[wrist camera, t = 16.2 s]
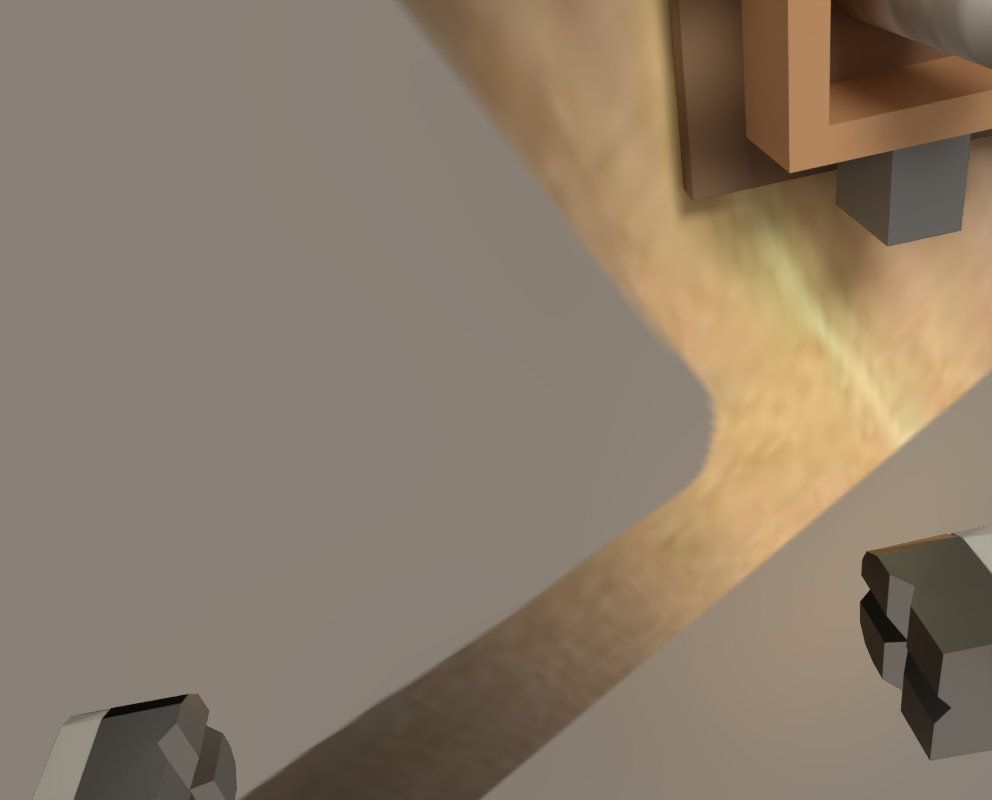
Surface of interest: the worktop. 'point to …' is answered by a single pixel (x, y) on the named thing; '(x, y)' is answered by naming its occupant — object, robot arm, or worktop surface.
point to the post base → (853, 53)
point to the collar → (863, 121)
